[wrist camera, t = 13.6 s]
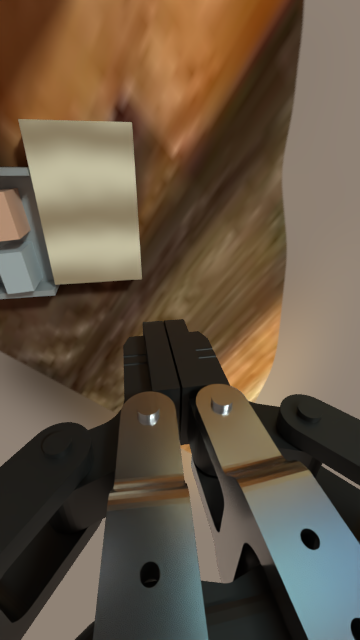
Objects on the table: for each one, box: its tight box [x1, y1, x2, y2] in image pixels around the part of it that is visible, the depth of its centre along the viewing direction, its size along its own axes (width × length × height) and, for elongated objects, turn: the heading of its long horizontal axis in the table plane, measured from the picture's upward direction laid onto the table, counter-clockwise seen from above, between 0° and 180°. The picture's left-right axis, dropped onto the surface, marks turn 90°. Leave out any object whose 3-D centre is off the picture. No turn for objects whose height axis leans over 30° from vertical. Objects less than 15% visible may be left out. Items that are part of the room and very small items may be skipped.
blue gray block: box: [0, 241, 43, 294], centre depth 29 cm, size 4×4×2 cm
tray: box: [0, 167, 60, 299], centre depth 28 cm, size 12×7×4 cm, turn 0°
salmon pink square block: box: [0, 188, 31, 241], centre depth 27 cm, size 4×4×2 cm
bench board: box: [18, 119, 142, 285], centre depth 29 cm, size 14×9×3 cm, turn 0°
